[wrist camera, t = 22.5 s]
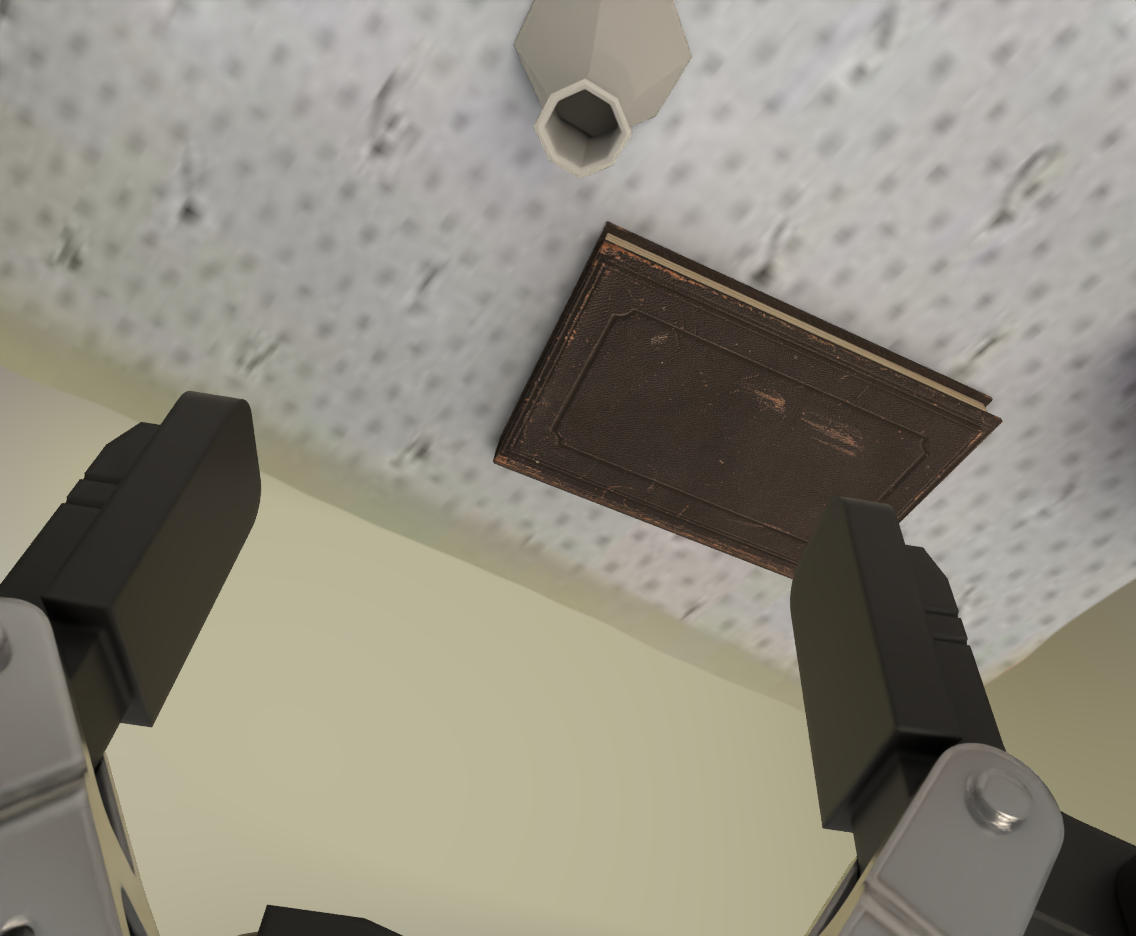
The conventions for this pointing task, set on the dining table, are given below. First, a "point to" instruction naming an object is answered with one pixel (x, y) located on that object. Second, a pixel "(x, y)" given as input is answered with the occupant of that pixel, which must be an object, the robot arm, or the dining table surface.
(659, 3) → the flask
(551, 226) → the dining table surface
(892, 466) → the hardcover book
